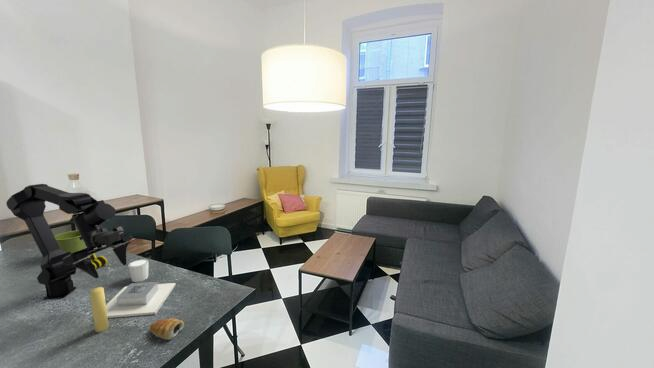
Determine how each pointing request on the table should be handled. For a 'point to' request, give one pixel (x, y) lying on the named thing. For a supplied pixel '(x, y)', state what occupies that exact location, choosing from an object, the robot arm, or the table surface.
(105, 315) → the pin
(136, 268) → the white short cylinder
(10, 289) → the table surface
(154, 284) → the metal collar
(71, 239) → the plant pot
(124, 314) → the base plate
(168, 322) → the pastry
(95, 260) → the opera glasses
